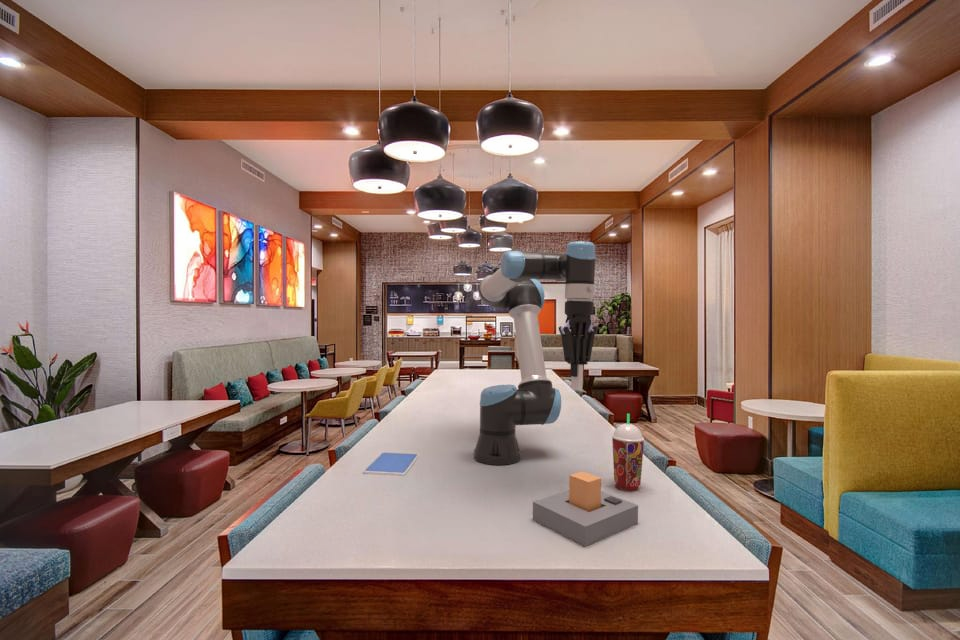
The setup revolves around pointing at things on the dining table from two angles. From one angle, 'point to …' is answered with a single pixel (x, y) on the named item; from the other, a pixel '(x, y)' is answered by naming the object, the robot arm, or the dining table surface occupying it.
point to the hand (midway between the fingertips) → (576, 388)
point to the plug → (585, 491)
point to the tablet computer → (391, 464)
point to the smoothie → (627, 456)
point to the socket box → (585, 517)
